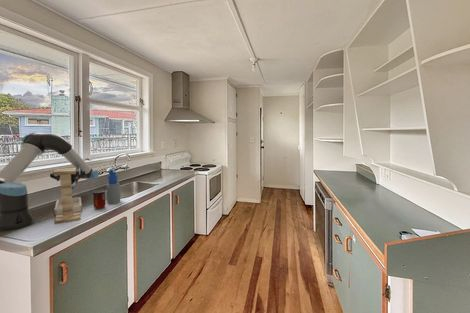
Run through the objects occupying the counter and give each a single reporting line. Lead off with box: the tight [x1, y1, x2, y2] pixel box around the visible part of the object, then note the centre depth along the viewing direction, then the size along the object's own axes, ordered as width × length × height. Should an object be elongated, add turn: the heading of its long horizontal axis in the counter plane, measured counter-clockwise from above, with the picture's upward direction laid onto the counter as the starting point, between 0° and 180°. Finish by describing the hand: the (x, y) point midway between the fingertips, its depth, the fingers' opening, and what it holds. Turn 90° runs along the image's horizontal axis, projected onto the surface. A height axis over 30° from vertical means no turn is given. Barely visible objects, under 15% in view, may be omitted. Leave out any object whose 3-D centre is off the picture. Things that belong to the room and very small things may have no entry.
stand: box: [53, 167, 82, 225], centre depth 135 cm, size 14×12×30 cm
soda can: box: [92, 189, 107, 210], centre depth 156 cm, size 7×7×12 cm
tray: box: [53, 196, 83, 217], centre depth 155 cm, size 26×14×4 cm, turn 35°
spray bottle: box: [105, 168, 121, 205], centre depth 168 cm, size 9×9×25 cm
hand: (67, 170), depth 155 cm, fingers open, 13 cm apart
